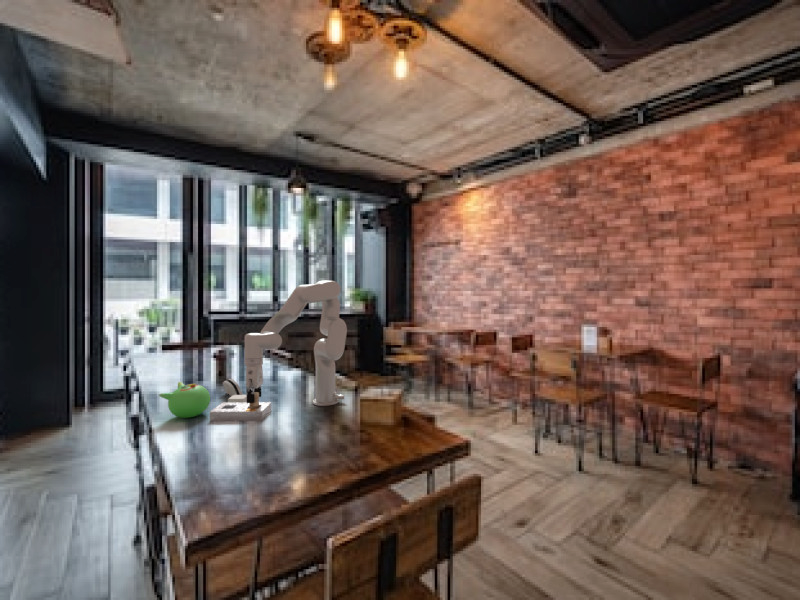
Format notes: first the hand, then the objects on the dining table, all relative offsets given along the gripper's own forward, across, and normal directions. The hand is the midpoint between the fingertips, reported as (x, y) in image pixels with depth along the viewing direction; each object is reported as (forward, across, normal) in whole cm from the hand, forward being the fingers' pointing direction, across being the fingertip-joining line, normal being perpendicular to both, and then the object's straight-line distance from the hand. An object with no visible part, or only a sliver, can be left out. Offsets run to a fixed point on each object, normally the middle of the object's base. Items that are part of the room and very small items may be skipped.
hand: (254, 399), depth 184 cm
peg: (+7, 0, 0) cm, 7 cm away
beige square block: (+7, +13, +12) cm, 19 cm away
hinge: (+7, +34, +21) cm, 40 cm away
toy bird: (+7, 0, +28) cm, 29 cm away
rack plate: (+7, 0, +6) cm, 9 cm away
